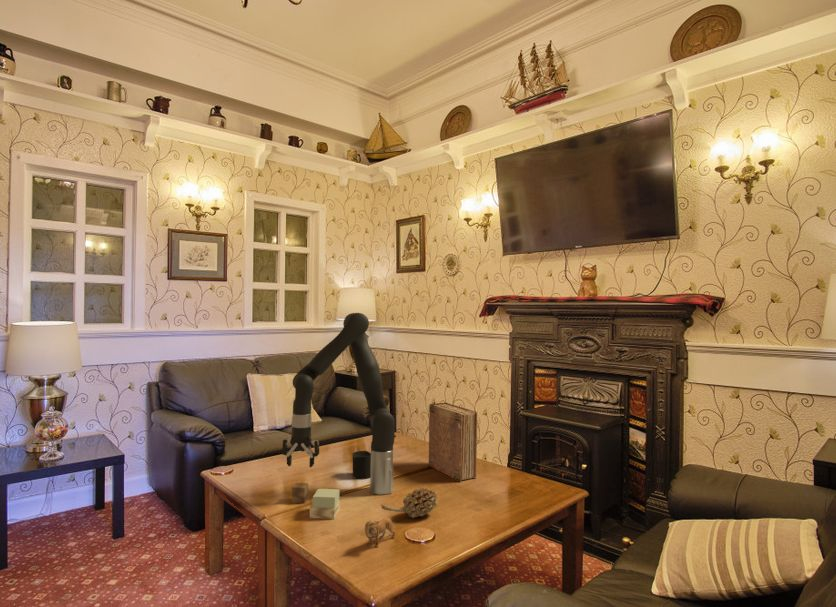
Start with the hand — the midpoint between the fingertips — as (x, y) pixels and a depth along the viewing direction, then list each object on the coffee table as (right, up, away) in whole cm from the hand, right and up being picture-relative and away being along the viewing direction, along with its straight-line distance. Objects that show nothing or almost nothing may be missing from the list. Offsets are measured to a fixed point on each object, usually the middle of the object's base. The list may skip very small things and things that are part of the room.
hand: (300, 466), depth 196 cm
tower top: (+12, -10, -12) cm, 20 cm away
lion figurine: (+34, -14, -34) cm, 50 cm away
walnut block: (0, -14, 0) cm, 14 cm away
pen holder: (+21, -14, +29) cm, 39 cm away
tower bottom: (+12, -14, -12) cm, 22 cm away
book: (+62, -15, +36) cm, 73 cm away
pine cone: (+43, -14, -14) cm, 47 cm away
